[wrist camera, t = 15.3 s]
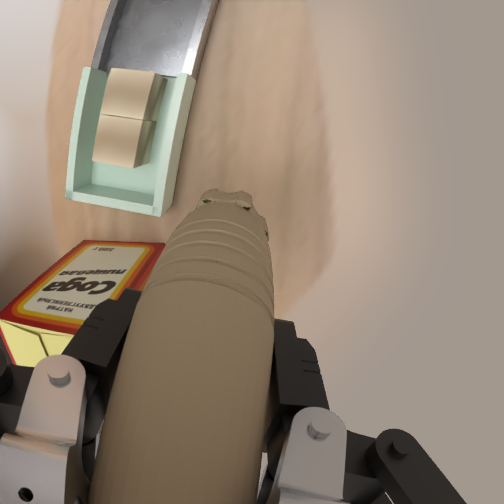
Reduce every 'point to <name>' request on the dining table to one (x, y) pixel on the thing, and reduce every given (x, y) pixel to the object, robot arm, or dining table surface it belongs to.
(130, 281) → the baking soda box
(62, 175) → the dining table surface
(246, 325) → the handle
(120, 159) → the birch block
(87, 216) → the dining table surface
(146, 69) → the metal chute
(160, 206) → the chip tray
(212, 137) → the dining table surface
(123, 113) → the birch block
